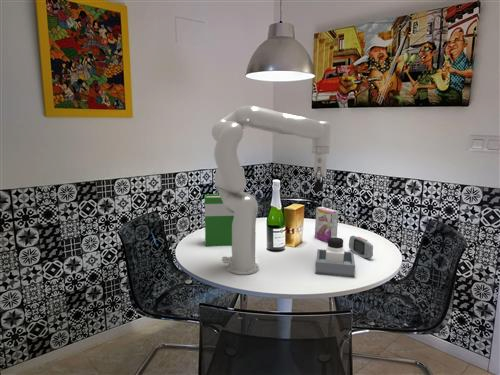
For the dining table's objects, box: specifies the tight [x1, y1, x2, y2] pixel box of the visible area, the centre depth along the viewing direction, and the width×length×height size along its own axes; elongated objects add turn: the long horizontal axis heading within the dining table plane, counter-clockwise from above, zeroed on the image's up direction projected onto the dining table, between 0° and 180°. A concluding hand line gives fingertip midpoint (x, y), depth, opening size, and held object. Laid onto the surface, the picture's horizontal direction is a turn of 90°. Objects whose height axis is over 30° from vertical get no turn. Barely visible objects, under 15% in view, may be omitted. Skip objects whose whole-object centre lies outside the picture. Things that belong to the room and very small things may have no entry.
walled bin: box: [315, 248, 356, 279], centre depth 151 cm, size 15×15×5 cm
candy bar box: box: [314, 206, 339, 244], centre depth 185 cm, size 11×5×16 cm, turn 34°
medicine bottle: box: [325, 236, 345, 264], centre depth 151 cm, size 7×7×12 cm
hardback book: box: [204, 193, 234, 247], centre depth 179 cm, size 18×7×24 cm, turn 97°
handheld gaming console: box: [348, 235, 374, 259], centre depth 166 cm, size 14×3×8 cm, turn 24°
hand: (318, 189), depth 162 cm, fingers open, 9 cm apart
